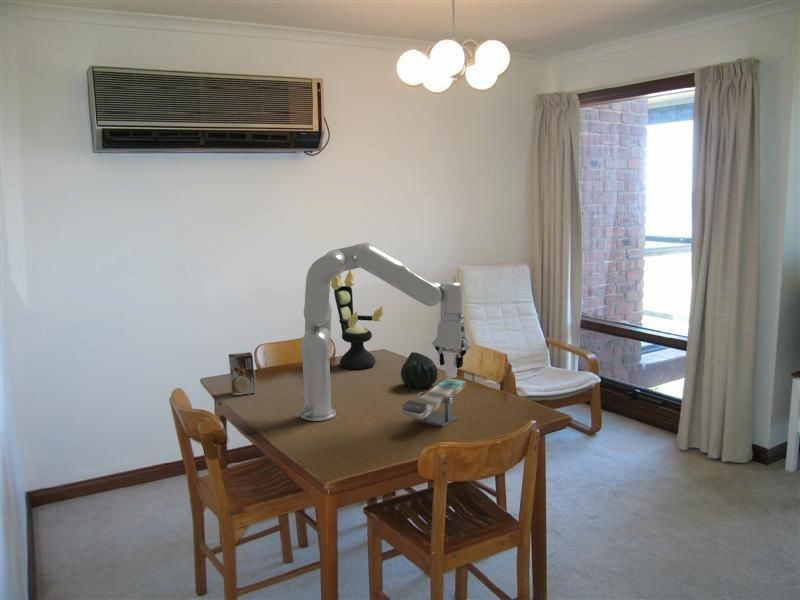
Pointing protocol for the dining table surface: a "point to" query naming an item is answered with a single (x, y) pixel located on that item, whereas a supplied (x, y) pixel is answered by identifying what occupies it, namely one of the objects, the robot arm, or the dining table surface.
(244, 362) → the coffee box
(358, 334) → the toy throne chair
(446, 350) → the smoothie
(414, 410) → the beam
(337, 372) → the dining table surface
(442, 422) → the pivot stand
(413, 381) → the squash
